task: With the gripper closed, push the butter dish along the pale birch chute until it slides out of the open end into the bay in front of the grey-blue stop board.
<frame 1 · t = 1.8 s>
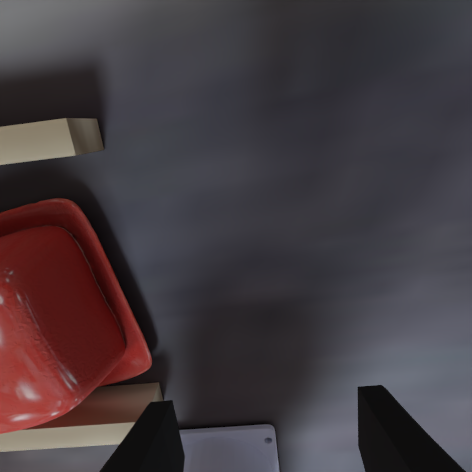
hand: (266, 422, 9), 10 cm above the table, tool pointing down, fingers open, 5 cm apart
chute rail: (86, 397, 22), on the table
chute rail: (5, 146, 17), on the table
butter dish: (44, 300, 21), on the table
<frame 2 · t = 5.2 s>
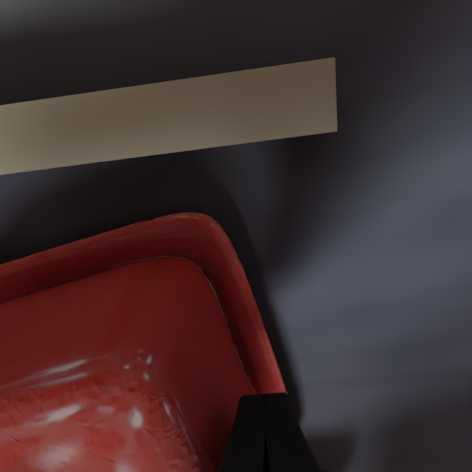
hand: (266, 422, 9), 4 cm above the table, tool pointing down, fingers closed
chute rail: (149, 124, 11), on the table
butter dish: (135, 361, 14), on the table, touching gripper
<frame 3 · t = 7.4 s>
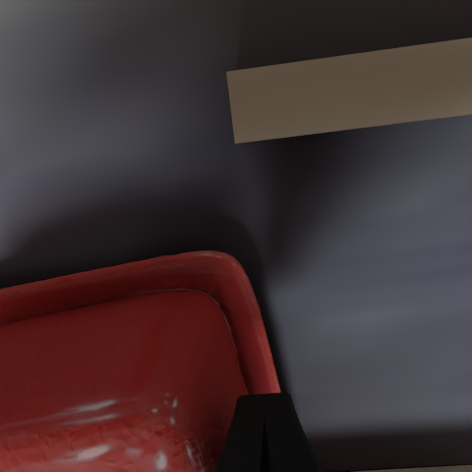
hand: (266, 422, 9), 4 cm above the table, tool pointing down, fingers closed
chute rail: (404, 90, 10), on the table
butter dish: (141, 380, 14), on the table
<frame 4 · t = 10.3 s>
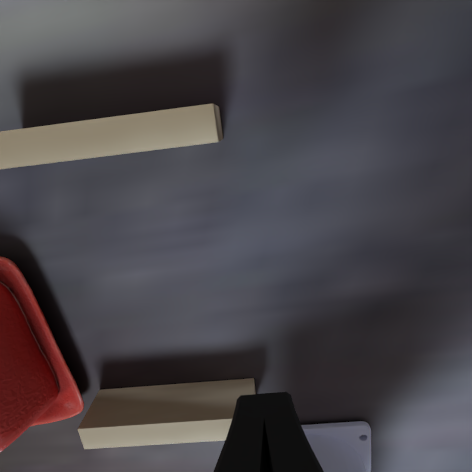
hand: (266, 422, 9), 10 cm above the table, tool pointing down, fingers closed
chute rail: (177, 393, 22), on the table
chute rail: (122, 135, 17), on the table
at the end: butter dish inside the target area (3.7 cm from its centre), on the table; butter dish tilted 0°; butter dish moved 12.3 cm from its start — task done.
